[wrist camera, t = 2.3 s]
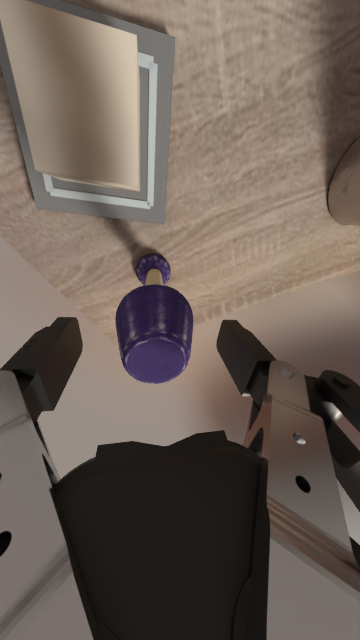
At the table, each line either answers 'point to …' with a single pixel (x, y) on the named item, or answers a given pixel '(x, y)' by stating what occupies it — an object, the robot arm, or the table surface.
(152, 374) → the toy lamp
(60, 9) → the slate board
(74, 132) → the cream block
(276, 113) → the table surface
